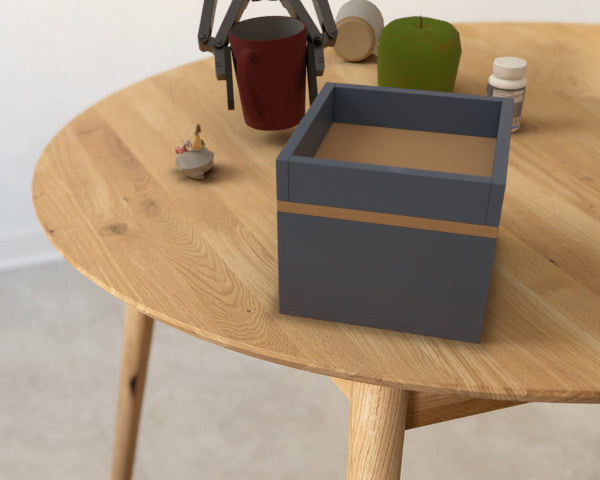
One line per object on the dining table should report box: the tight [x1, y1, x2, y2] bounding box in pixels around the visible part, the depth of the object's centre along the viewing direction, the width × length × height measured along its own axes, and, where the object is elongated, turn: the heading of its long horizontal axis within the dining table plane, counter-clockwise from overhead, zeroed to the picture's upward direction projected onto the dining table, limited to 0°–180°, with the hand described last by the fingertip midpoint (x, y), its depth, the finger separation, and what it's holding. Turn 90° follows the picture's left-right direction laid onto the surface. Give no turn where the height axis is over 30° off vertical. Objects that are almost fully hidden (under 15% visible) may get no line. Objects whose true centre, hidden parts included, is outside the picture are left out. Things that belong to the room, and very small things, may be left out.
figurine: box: [174, 123, 215, 181], centre depth 87 cm, size 5×4×6 cm
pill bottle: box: [485, 55, 528, 133], centre depth 97 cm, size 5×5×8 cm
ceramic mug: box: [332, 0, 385, 63], centre depth 120 cm, size 11×8×8 cm
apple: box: [376, 15, 463, 93], centre depth 105 cm, size 11×11×11 cm
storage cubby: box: [275, 81, 514, 345], centre depth 68 cm, size 17×17×14 cm
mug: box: [228, 15, 307, 132], centre depth 91 cm, size 12×9×11 cm
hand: (272, 103), depth 89 cm, fingers closed on mug, 9 cm apart
